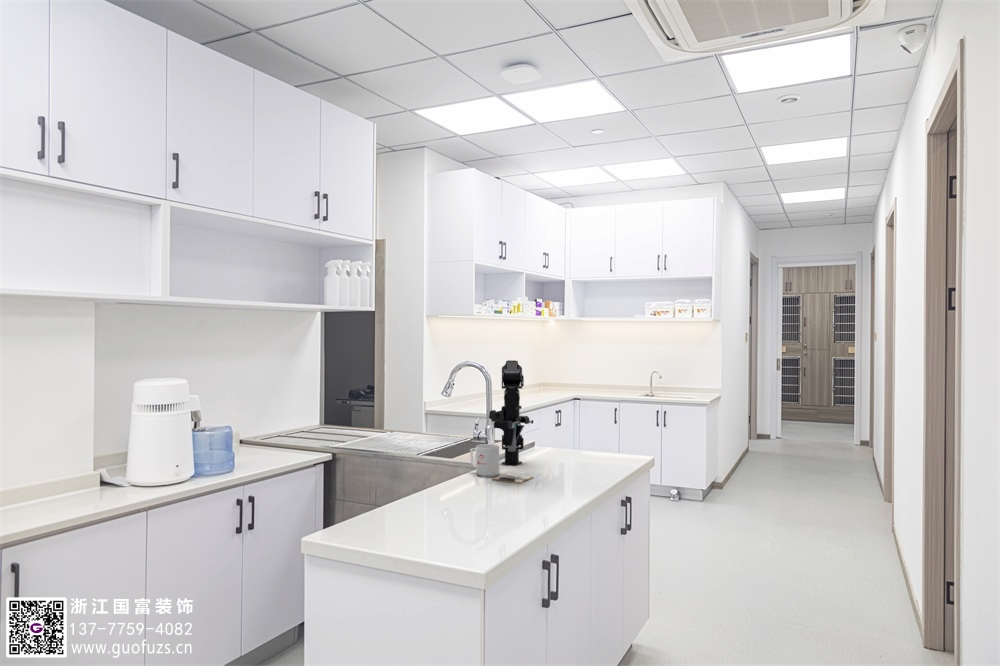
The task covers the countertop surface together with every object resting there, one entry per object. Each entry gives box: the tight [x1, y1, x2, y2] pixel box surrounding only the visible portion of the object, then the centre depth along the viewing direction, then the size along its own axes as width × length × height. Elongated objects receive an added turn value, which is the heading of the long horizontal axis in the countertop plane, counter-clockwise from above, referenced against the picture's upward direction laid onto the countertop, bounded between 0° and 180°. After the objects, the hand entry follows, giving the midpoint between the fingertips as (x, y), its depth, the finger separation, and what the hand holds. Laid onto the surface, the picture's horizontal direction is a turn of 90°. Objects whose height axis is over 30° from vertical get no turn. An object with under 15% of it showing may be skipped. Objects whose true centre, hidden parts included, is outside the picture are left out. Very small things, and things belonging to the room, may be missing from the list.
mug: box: [469, 443, 500, 478], centre depth 259 cm, size 12×9×11 cm
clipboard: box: [491, 473, 535, 485], centre depth 252 cm, size 11×12×1 cm
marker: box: [508, 425, 516, 452], centre depth 251 cm, size 3×3×9 cm
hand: (511, 445), depth 251 cm, fingers closed on marker, 3 cm apart
